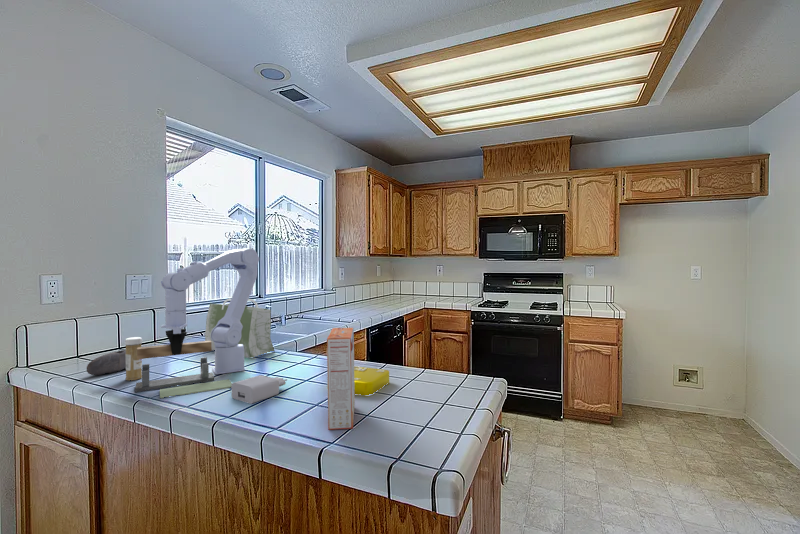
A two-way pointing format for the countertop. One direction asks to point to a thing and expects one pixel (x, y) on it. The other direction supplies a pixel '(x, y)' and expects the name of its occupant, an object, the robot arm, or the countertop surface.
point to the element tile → (369, 380)
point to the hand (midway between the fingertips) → (176, 353)
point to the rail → (166, 351)
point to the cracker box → (340, 378)
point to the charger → (256, 388)
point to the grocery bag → (245, 327)
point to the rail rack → (175, 381)
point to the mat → (195, 388)
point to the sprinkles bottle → (133, 359)
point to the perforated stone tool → (108, 363)
